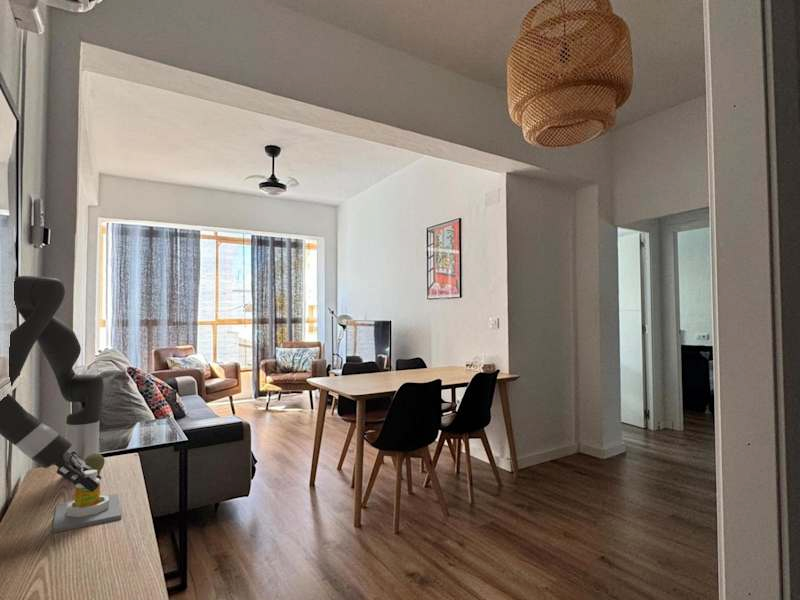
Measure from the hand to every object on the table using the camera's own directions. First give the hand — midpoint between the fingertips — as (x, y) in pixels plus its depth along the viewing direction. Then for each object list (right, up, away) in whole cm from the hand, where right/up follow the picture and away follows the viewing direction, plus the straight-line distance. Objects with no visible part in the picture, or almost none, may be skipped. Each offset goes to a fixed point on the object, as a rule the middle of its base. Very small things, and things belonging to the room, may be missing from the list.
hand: (97, 484), depth 117 cm
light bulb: (-14, -9, +18) cm, 25 cm away
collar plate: (-1, -7, -1) cm, 7 cm away
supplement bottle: (-2, -6, -1) cm, 7 cm away
